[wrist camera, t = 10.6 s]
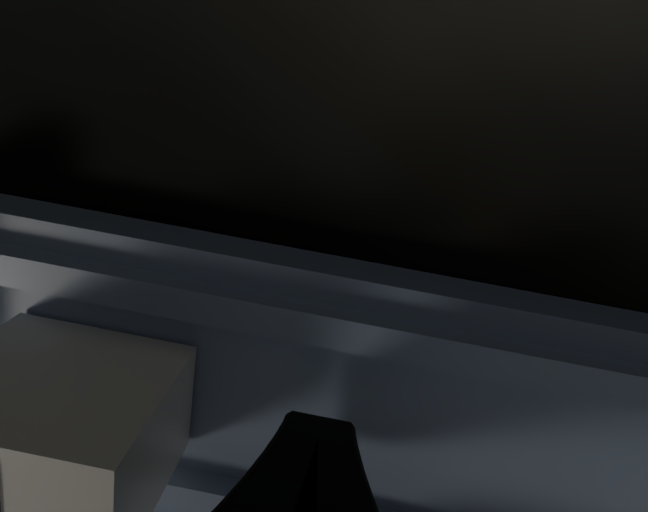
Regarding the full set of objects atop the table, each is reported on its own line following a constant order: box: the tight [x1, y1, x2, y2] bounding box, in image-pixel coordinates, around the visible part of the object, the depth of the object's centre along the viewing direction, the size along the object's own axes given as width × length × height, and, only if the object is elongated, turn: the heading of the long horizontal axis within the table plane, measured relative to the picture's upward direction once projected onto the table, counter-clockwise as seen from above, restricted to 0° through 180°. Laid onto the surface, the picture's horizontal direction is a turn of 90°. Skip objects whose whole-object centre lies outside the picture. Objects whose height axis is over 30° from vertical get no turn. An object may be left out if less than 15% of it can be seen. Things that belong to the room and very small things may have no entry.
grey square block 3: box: [0, 313, 197, 512], centre depth 10 cm, size 3×4×4 cm, turn 81°
